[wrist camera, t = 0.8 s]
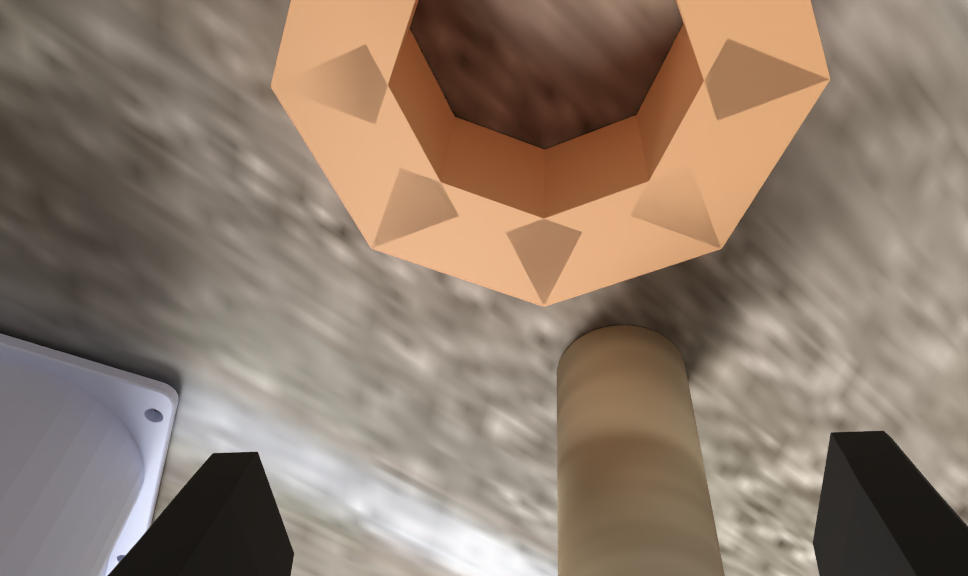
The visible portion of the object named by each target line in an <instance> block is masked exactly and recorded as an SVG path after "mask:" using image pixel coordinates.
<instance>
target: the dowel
mask: <svg viewBox="0 0 968 576" xmlns="http://www.w3.org/2000/svg"><path fill="white" fill-rule="evenodd" d="M557 483H558V576H725V575H724V570H723V564H722V559H721V554H720V548H719V543H718V538H717V533H716V527H715V522H714V517H713V511H712V506H711V501H710V495H709V490H708V485H707V479H706V474H705V469H704V464H703V458H702V453H701V448H700V442H699V437H698V432H697V426H696V421H695V416H694V410H693V405H692V400H691V395H690V389H689V384H688V379H687V373H686V368H685V363H684V360H683V357H682V355H681V353H680V351H679V350H678V349H677V347H676V346H675V345H674V344H673V343H672V342H671V341H670V340H669V339H667V338H666V337H664V336H663V335H661V334H659V333H657V332H655V331H653V330H650V329H647V328H643V327H639V326H632V325H615V326H608V327H603V328H600V329H596V330H594V331H591V332H589V333H587V334H585V335H583V336H581V337H580V338H578V339H577V340H576V341H574V342H573V343H572V344H571V345H570V346H569V347H568V348H567V349H566V351H565V352H564V354H563V355H562V357H561V359H560V361H559V364H558V368H557Z"/></svg>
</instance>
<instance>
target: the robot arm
mask: <svg viewBox="0 0 968 576" xmlns="http://www.w3.org/2000/svg"><path fill="white" fill-rule="evenodd" d="M177 405H178V394H177V392H176V391H175V389H173V388H172V387H171V386H170V385H168V384H166V383H163V382H160V381H157V380H153V379H150V378H147V377H143V376H140V375H137V374H133V373H130V372H127V371H123V370H120V369H117V368H113V367H110V366H107V365H103V364H100V363H97V362H94V361H90V360H87V359H84V358H80V357H77V356H74V355H70V354H67V353H64V352H60V351H57V350H54V349H50V348H47V347H44V346H40V345H37V344H34V343H31V342H27V341H24V340H21V339H17V338H14V337H11V336H7V335H4V334H1V333H0V576H290V575H291V569H292V563H293V557H294V552H293V549H292V546H291V544H290V541H289V538H288V535H287V532H286V530H285V527H284V524H283V521H282V518H281V516H280V513H279V510H278V507H277V505H276V502H275V499H274V496H273V493H272V491H271V488H270V485H269V482H268V479H267V477H266V474H265V471H264V468H263V465H262V463H261V460H260V457H259V454H258V452H238V453H213V454H212V455H211V456H210V457H209V458H208V459H207V461H206V462H205V463H204V464H203V465H202V466H201V467H200V469H199V470H198V471H197V472H196V473H195V474H194V475H193V477H192V478H191V479H190V480H189V481H188V483H187V484H186V485H185V486H184V487H183V488H182V490H181V491H180V492H179V493H178V494H177V495H176V497H175V498H174V499H173V500H172V501H171V503H170V504H169V505H168V506H167V507H166V509H165V510H164V511H163V512H162V513H161V514H160V516H159V517H158V518H157V519H156V520H155V522H154V523H153V524H152V525H151V523H152V518H153V514H154V509H155V504H156V500H157V495H158V491H159V486H160V482H161V477H162V473H163V468H164V464H165V459H166V455H167V450H168V446H169V441H170V436H171V432H172V427H173V423H174V418H175V414H176V409H177ZM153 409H156V410H158V411H160V412H161V413H160V412H156V411H154V410H153ZM813 546H814V550H815V555H816V560H817V565H818V570H819V574H820V576H968V526H967V525H966V524H965V523H964V522H963V520H962V519H961V518H960V517H959V516H958V515H957V514H956V513H955V511H954V510H953V509H952V508H951V507H950V506H949V505H948V503H947V502H946V501H945V500H944V499H943V498H942V497H941V496H940V494H939V493H938V492H937V491H936V490H935V489H934V487H933V486H932V485H931V484H930V483H929V482H928V481H927V479H926V478H925V477H924V476H923V475H922V474H921V472H920V471H919V470H918V469H917V468H916V466H915V465H914V464H913V463H912V462H911V461H910V459H909V458H908V457H907V456H906V455H905V453H904V452H903V451H902V450H901V449H900V447H899V446H898V445H897V444H896V443H895V442H894V440H893V439H892V438H891V437H890V436H889V435H888V434H887V433H885V432H884V431H864V432H834V433H831V435H830V441H829V447H828V453H827V460H826V466H825V472H824V478H823V484H822V490H821V496H820V502H819V509H818V515H817V521H816V527H815V533H814V539H813Z"/></svg>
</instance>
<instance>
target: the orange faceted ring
mask: <svg viewBox="0 0 968 576" xmlns="http://www.w3.org/2000/svg"><path fill="white" fill-rule="evenodd" d="M418 1H419V0H291V2H290V7H289V11H288V15H287V19H286V24H285V28H284V32H283V36H282V40H281V45H280V49H279V53H278V57H277V61H276V66H275V70H274V74H273V78H272V83H271V88H272V90H273V91H274V93H275V95H276V96H277V98H278V99H279V101H280V103H281V104H282V106H283V107H284V109H285V111H286V112H287V114H288V115H289V117H290V119H291V120H292V122H293V124H294V125H295V127H296V128H297V130H298V132H299V133H300V135H301V136H302V138H303V140H304V141H305V143H306V144H307V146H308V148H309V149H310V151H311V152H312V154H313V156H314V157H315V159H316V161H317V162H318V164H319V165H320V167H321V169H322V170H323V172H324V173H325V175H326V177H327V178H328V180H329V181H330V183H331V185H332V186H333V188H334V189H335V191H336V193H337V194H338V196H339V197H340V199H341V201H342V202H343V204H344V206H345V207H346V209H347V210H348V212H349V214H350V215H351V217H352V218H353V220H354V222H355V223H356V225H357V226H358V228H359V230H360V231H361V233H362V234H363V236H364V238H365V239H366V241H367V243H368V244H369V246H370V247H371V248H372V249H374V250H377V251H380V252H383V253H386V254H389V255H392V256H395V257H398V258H401V259H404V260H406V261H409V262H412V263H415V264H418V265H421V266H424V267H427V268H430V269H433V270H436V271H439V272H442V273H445V274H448V275H451V276H454V277H457V278H460V279H463V280H466V281H469V282H472V283H475V284H478V285H481V286H484V287H487V288H490V289H492V290H495V291H498V292H501V293H504V294H507V295H510V296H513V297H516V298H519V299H522V300H525V301H528V302H531V303H534V304H537V305H540V306H543V307H545V306H548V305H551V304H554V303H557V302H560V301H564V300H567V299H570V298H573V297H576V296H579V295H582V294H585V293H588V292H591V291H594V290H597V289H600V288H603V287H607V286H610V285H613V284H616V283H619V282H622V281H625V280H628V279H631V278H634V277H637V276H640V275H643V274H646V273H650V272H653V271H656V270H659V269H662V268H665V267H668V266H671V265H674V264H677V263H680V262H683V261H686V260H689V259H692V258H696V257H699V256H702V255H705V254H708V253H711V252H714V251H717V250H720V249H722V248H723V246H724V245H725V243H726V241H727V240H728V238H729V237H730V235H731V234H732V232H733V230H734V229H735V227H736V226H737V224H738V223H739V221H740V220H741V218H742V216H743V215H744V213H745V212H746V210H747V209H748V207H749V205H750V204H751V202H752V201H753V199H754V198H755V196H756V195H757V193H758V191H759V190H760V188H761V187H762V185H763V184H764V182H765V181H766V179H767V177H768V176H769V174H770V173H771V171H772V170H773V168H774V166H775V165H776V163H777V162H778V160H779V159H780V157H781V156H782V154H783V152H784V151H785V149H786V148H787V146H788V145H789V143H790V141H791V140H792V138H793V137H794V135H795V134H796V132H797V131H798V129H799V127H800V126H801V124H802V123H803V121H804V120H805V118H806V116H807V115H808V113H809V112H810V110H811V109H812V107H813V106H814V104H815V102H816V101H817V99H818V98H819V96H820V95H821V93H822V92H823V90H824V88H825V87H826V85H827V84H828V82H829V81H830V76H829V72H828V68H827V64H826V60H825V56H824V52H823V48H822V44H821V40H820V36H819V32H818V28H817V24H816V20H815V16H814V12H813V8H812V4H811V0H676V3H677V6H678V8H679V11H680V14H681V17H682V20H683V23H684V24H683V26H682V27H681V29H680V31H679V33H678V35H677V37H676V39H675V41H674V43H673V45H672V47H671V49H670V51H669V53H668V55H667V57H666V59H665V61H664V62H663V64H662V66H661V68H660V70H659V72H658V74H657V76H656V78H655V80H654V82H653V84H652V86H651V88H650V90H649V92H648V94H647V96H646V98H645V99H644V101H643V103H642V105H641V107H640V109H639V111H638V113H637V115H635V116H632V117H629V118H627V119H624V120H621V121H619V122H616V123H614V124H611V125H608V126H606V127H603V128H600V129H598V130H595V131H593V132H590V133H587V134H585V135H582V136H580V137H577V138H574V139H572V140H569V141H566V142H564V143H561V144H559V145H556V146H553V147H551V148H548V149H542V148H539V147H536V146H534V145H531V144H528V143H525V142H523V141H520V140H517V139H515V138H512V137H509V136H506V135H504V134H501V133H498V132H495V131H493V130H490V129H487V128H485V127H482V126H479V125H476V124H474V123H471V122H468V121H465V120H463V119H460V118H457V117H455V116H454V114H453V112H452V110H451V109H450V107H449V105H448V103H447V101H446V99H445V97H444V95H443V93H442V91H441V89H440V87H439V85H438V83H437V81H436V79H435V77H434V75H433V73H432V71H431V69H430V67H429V65H428V63H427V62H426V60H425V58H424V56H423V54H422V52H421V50H420V48H419V46H418V44H417V42H416V40H415V38H414V36H413V34H412V32H411V30H410V26H411V23H412V20H413V17H414V13H415V10H416V7H417V4H418Z"/></svg>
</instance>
